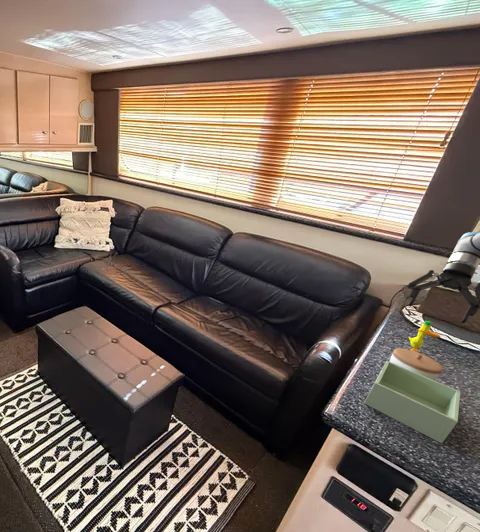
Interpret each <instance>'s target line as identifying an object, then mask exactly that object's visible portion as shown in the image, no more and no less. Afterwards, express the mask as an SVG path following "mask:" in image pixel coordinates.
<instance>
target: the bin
mask: <svg viewBox="0 0 480 532" xmlns="http://www.w3.org/2000/svg"><path fill="white" fill-rule="evenodd" d="M389 361H390V360H386V361H385V363H384V364H383V367H382V368H381V370H380V372H379V374H378V376H377V377H376V379H375V381H374V383H373V385H372V387H371V389H370V390H369V392H368V394H367V396H366V398H365V400H364V402H363V404H364V405H366V406H368V407H370V408H372V409H374V410H376V411H378V412H380V413H382V414H384V415H386V416H388V417H389V418H391V419H393V420H396V421H398V422H399V423H401V424H403V425H405V426H407V427H409V428H411V429H413V430H415V431H416V432H419V433H421V434H423V435H425V436H427V437H428V438H431V439H432V440H435V441H436V442H438V443H440V444H443V443H444V442H445V440H446V439H447V438H448V436H449V435H450V433H451V432H452V431H453V429H454V428H455V426H456V425H457V424H458V422H459V412H460V401H461V391H460V390H457V389H455V388H453V387H451V386H448V385H446V384H443V383H441V382H439V381H437V380H432V379H429V378H427V377H425V376H422V375H420V374H417V373H415V372H413V371H410V370H408V369H406V368H403V367H401V366H399V365H396V364H394V363H392V362H389Z"/></svg>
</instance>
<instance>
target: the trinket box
mask: <svg viewBox="0 0 480 532" xmlns="http://www.w3.org/2000/svg"><path fill="white" fill-rule="evenodd" d="M388 361H389V362H392V363H394V364H396V365H399V366H401V367H403V368H406V369H408V370H410V371H413V372H415V373H417V374H420V375H422V376H425V377H427V378H429V379H432V380H434V381H436V380H437V378H438V377H439V376H440V374H441V373H442V372H443V371H444V368H443V366H442V364H440V363H439V362H438V361H436V360H435V359H433V358H432V357H429V356H427V355H425V354H423V353H420V352H418V353H417V352H415V351H411V349H408V348H401V347H400V348H398V347H397V348H395V349H393V350H392V354H391V356H390V358H389V360H388Z"/></svg>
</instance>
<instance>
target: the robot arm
mask: <svg viewBox="0 0 480 532" xmlns="http://www.w3.org/2000/svg"><path fill="white" fill-rule="evenodd" d="M479 266H480V231H471V232H470V231H468V232H465V233H464V234H462V236H461V237H460V238H459V239H458V241H457V243H456V245H455V247H454V249H453V251H452V253H451V255H450V256H449V258H448V259H447V262H446V264H445V265H444V267H443V269H442V270H441V272H440V273H438V272H435V271H434V269H430V270H429V271H428V272H427V273H425V274H424V275H422V276H420V277H418V278H417V279H414V280H412V281H411V282H409V283H408V284H407V289H410V290H411V292H410V294H409V295H408V297H409V298H412V299H411V300H410V302H409V304H408V307H412V306H413V305H414V303H415V301H416V300H417V297H418V295H419V293H420V292H421V291H424V290H427V289H431V288H435V287H442V288H446V289H450V290H453V291H456V290H457V292H458V293H460V294H461V295H462V296H463V298H464V300H466V303H468V304H469V306H468V308H467V310H466V311H465V313H464V315H463V318H462V319H461V321H460V323H461V324H465V323H466V322H467V321H468V319H469V317H474V316H475V315H476V314H477V312H478V310H480V282H478V283H477V282H473V281H472V278H473V277H474V275H475V272H476V271H477V269H478V267H479ZM433 278H437V279H435V280H432V281H429V282H426V281H428V280H430V279H433ZM424 282H425V283H424ZM469 287H472V288H471V289H472V290H474V294H475V296H476V297H475V296H474V295H473V293H472V292H471V291H470V290H469Z"/></svg>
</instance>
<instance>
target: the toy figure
mask: <svg viewBox="0 0 480 532" xmlns="http://www.w3.org/2000/svg"><path fill="white" fill-rule="evenodd" d="M431 328H432V321H429V320H424V322H422V324H421V326H420V328H418V329H417V331H418V333H417V335H416V336H415V337H411V336H408V339H409V342H410V346H411V347H412V348H410V350H411V351H415V352H417V353H420V350H418V349H419V348H421V347H423V345H424V344H425V342H424V338H425V336H429V337H432V338H435V339H436V338H437V339H438V338H441V335H440V334H439V333H437V332H434V331H432V330H430V329H431Z"/></svg>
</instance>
